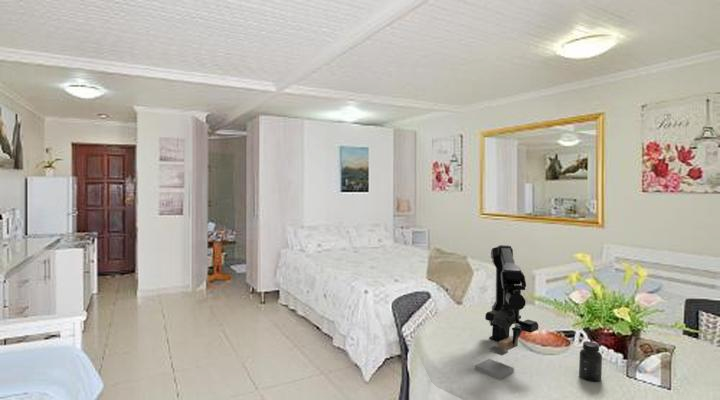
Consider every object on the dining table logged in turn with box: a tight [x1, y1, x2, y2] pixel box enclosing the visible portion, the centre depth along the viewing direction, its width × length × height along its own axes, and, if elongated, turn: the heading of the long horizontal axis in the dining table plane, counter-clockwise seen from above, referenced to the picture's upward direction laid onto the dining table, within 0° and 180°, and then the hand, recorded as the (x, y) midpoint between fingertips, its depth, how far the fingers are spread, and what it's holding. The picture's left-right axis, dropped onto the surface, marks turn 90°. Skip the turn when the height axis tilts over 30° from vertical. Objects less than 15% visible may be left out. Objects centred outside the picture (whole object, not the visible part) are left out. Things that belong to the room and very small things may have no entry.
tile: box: [474, 358, 515, 381], centre depth 149 cm, size 2×10×9 cm
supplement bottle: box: [578, 340, 603, 383], centre depth 145 cm, size 7×7×12 cm
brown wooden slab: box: [488, 335, 519, 356], centre depth 154 cm, size 13×5×3 cm, turn 130°
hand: (510, 343), depth 156 cm, fingers closed on brown wooden slab, 3 cm apart
